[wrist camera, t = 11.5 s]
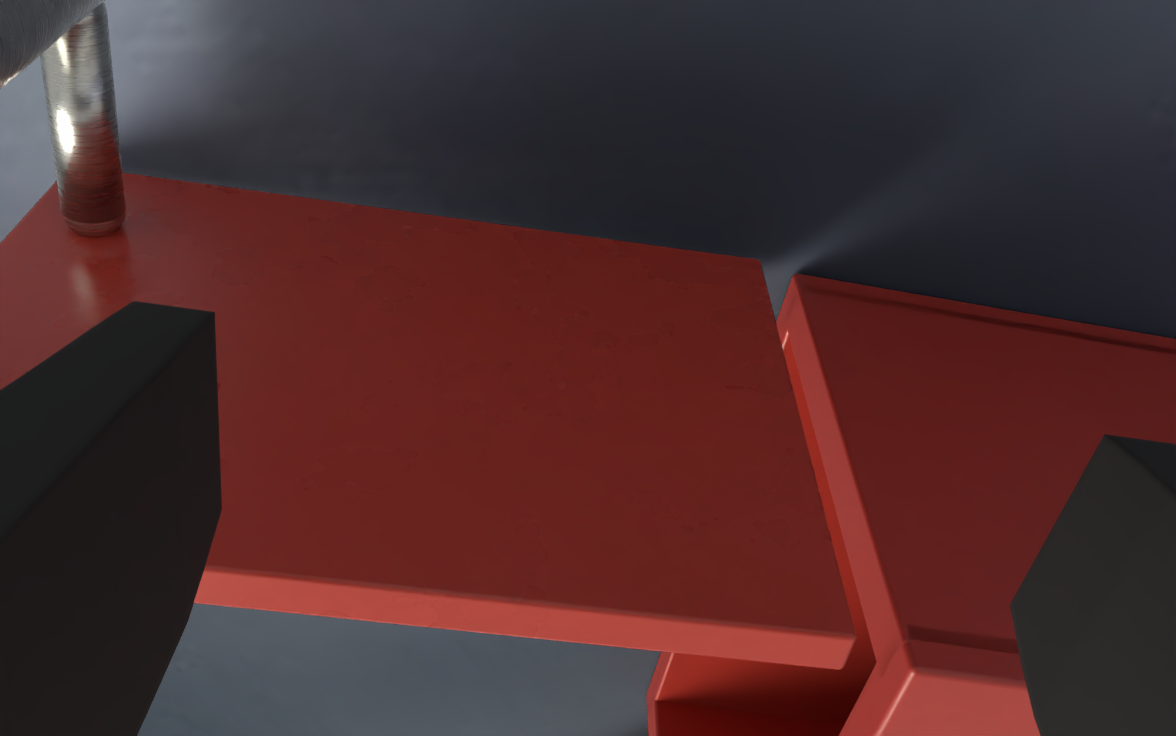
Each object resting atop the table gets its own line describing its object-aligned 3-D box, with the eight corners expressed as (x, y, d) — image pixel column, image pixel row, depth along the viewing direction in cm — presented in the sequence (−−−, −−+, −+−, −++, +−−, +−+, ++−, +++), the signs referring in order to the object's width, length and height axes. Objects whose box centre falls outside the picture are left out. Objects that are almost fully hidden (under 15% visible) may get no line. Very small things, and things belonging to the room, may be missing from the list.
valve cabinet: (792, 270, 20) (912, 670, 13) (1250, 350, 21) (1610, 763, 14) (645, 694, 27) (666, 1115, 19) (996, 738, 28) (1143, 1154, 20)
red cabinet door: (842, -31, 17) (1028, 249, 10) (753, 287, 20) (843, 672, 13) (28, -162, 16) (-436, 45, 8) (73, 195, 19) (-238, 561, 12)
